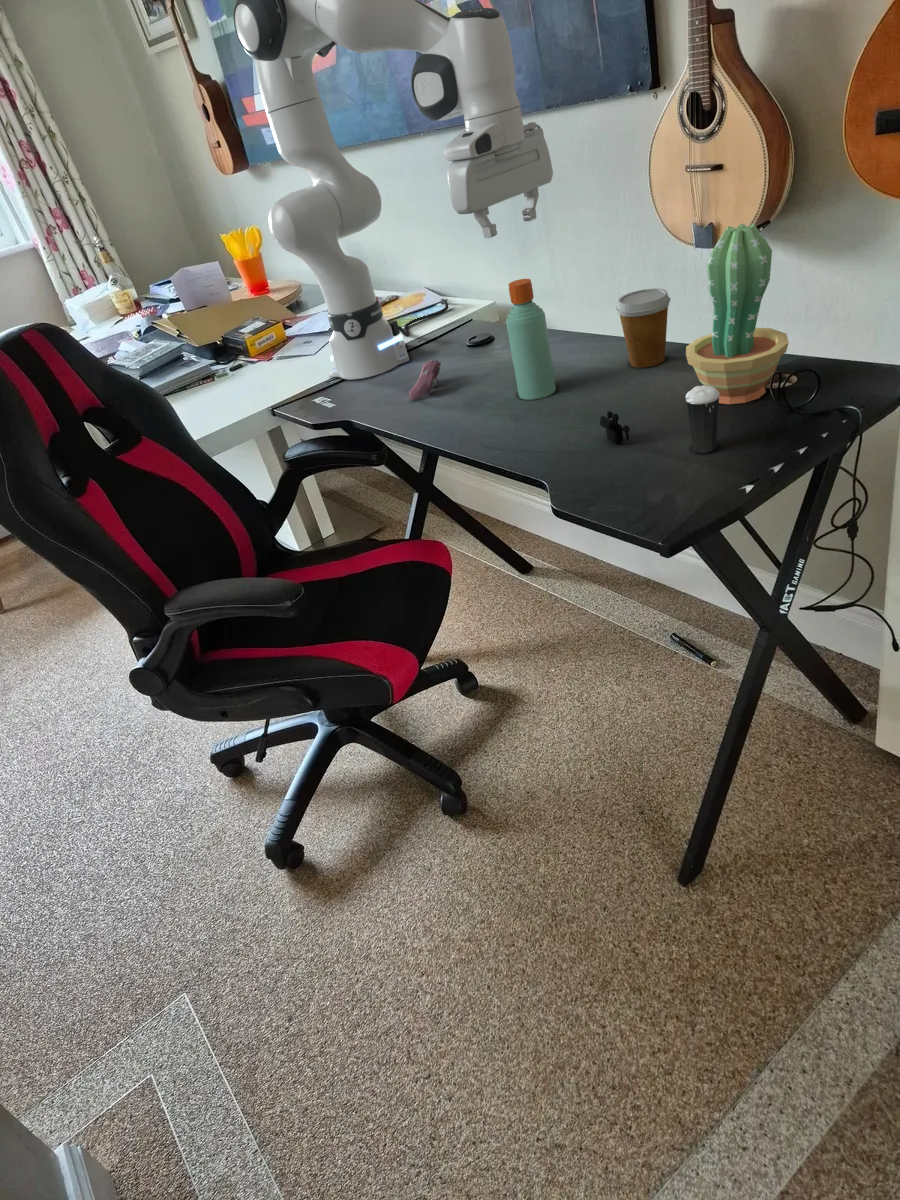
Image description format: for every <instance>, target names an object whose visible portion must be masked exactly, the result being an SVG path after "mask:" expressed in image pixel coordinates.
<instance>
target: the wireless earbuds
mask: <svg viewBox="0 0 900 1200" xmlns="http://www.w3.org/2000/svg"><path fill="white" fill-rule="evenodd" d="M619 420H620V416H619V415H618V414H617V413H615V412H614V413H613V412H612V411H609V410H607V411H606V414H605V416H604V415H601V416H600V418H599V425H600V426H601V428H604V429H605V434H606V440H607V441H608V442H610V443H612V444H615V445H621V444H623V441H624V434H625V441H626V443H629V442H630V436H629V435H630V434H629V432H630V431H631V428H630V426H629V425H627V424H624V425H623V424H619Z"/></svg>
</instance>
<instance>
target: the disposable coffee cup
mask: <svg viewBox="0 0 900 1200" xmlns="http://www.w3.org/2000/svg"><path fill="white" fill-rule="evenodd" d="M670 302H671V297H670V296H669V294H668V291H667V290H666V289H664V288H644V289H640V290H635V291H632V292H628V293H626V294H624V295H622V296H620V297H619V298H618V300H617V305H616V307H615V311H616V312H617V313H618V315H619V318H620V323H621V327H622V332H623V337H624V341H625V345H626V350H627V354H628V355H627V356H628V358H629V364H630V366H632V367H634V368H640V369H641V368H650V367H655V366H657V365H659V364H662V363H663V362H664V361H665V359H666V345H667V344H666V343H667V331H668V330H667V329H668V328H667V327H668V312H669V306H670Z"/></svg>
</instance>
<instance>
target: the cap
mask: <svg viewBox="0 0 900 1200" xmlns="http://www.w3.org/2000/svg"><path fill="white" fill-rule="evenodd" d="M508 292H509V298H510V302H511V304H522V303H526V302H529V301H531V300H532V301H533V300H534V290H533V284H532V279H531V278H519V279H516V280H513V281H511V282H509V283H508Z"/></svg>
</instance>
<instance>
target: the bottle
mask: <svg viewBox="0 0 900 1200" xmlns="http://www.w3.org/2000/svg"><path fill="white" fill-rule="evenodd" d="M505 325H506V331H507V337H508V342H509V348H510V354H511V361H512V364H513V372H514V376H515V383H516V388H517V389H516V390H517V392H518V393H517V394H518V397H519V398H520V399H522V400H527V401H531V400H539V399H543V398H546V397H548V396H549V397H550V396H551V395H552V394H554V393H555V392H556V390H557V389H556V388H557V386H556V380H555V373H554V367H553V360H552V359H553V358H552V353H551V346H550V340H549V339H550V338H549V333H548V326H547V325H548V324H547V318H546V313H545V311H544V309H543V308H542V307H540V305H538V304H537V303H536V302H534V301H533V299H532V300H531V301H529V302H526V303H522V304H513V306H512V307H511V308H510V310H509V312H508V314H507V315H506V319H505Z"/></svg>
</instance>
